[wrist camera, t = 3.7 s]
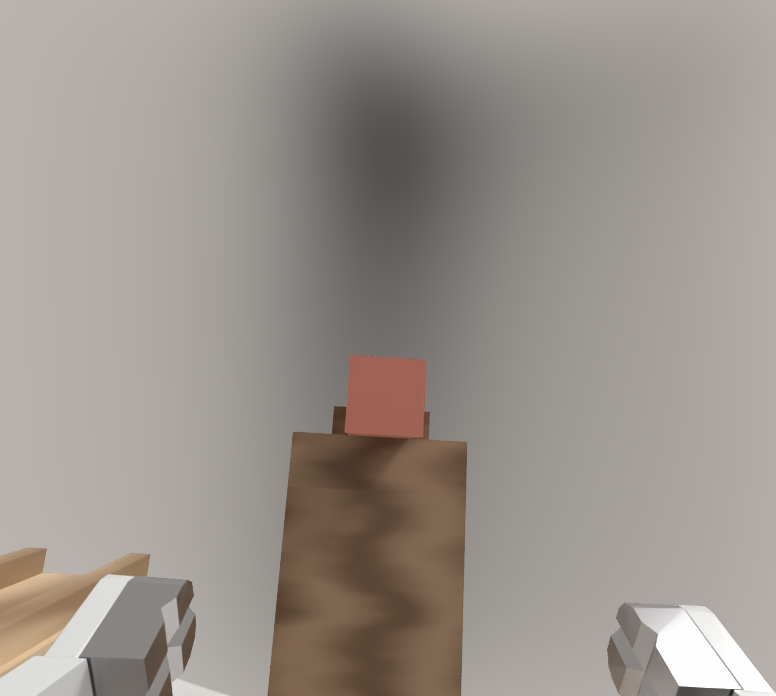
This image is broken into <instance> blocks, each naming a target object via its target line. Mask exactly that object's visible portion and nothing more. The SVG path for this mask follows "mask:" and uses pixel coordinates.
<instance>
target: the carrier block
mask: <svg viewBox="0 0 776 696" xmlns="http://www.w3.org/2000/svg"><path fill="white" fill-rule="evenodd" d="M46 550H47V549H44V548H25V549H21V550H18V551H15V552H12V553H8V554H5V555H2V556H0V678H1V677H3V676H4V675H6V674H7V673H9V672H10V671H12V670H14V669H15V668H17V667H18V666H20V665H21V664H23V663H24V662H26V661H27V660H29V659H31V658H32V657H34V656H44V655H45V654H46V652H47V651H48V649H49V648H50V647H51V645H52V644H53V643H54V641H55V640H56V639H57V637H58V636H59V634H60V633H61V632H62V630H63V629H64V628H65V626H66V625H67V624H68V622H69V621H70V620H71V618H72V617H73V615H74V614H75V613H76V611H77V610H78V609H79V607H80V606H81V605H82V603H83V602H84V601H85V599H86V598H87V596H88V595H89V594H90V592H91V591H92V590H93V588H94V587H95V586H96V584H97V583H98V582H99V581H100V580H101V579H102V578H104V577H105V576H106V575H108V574H112V575H124V576H143V577H147V572H148V565H149V559H150V554H138V553H137V554H136V553H130V554H128V555H126V556H124V557H122V558H120V559H117V560H115V561H113V562H111V563H109V564H107V565H104V566H102V567H100V568H98V569H96V570H94V571H91V572H89V573H87V574H85V575H69V574H49V573H42V571H43V566H44V561H45V555H46Z"/></svg>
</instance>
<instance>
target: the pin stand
mask: <svg viewBox="0 0 776 696" xmlns="http://www.w3.org/2000/svg"><path fill="white" fill-rule="evenodd" d="M429 416H430V412H424V427H423V437H420V438H411V439H407V438H390V437H373V436H356V435H348V434H347V433H345V420H346V407H336V406H334V415H333V428H332V434H322V433H306V432H293V438H292V448H291V458H290V469H289V479H288V489H287V500H286V510H285V520H284V531H283V541H282V552H281V562H280V572H279V583H278V593H277V604H276V614H275V624H274V635H273V645H272V656H271V666H270V677H269V687H268V696H461V673H462V632H463V590H464V549H465V546H464V545H465V509H466V467H467V442H457V441H440V440H429V439H428V438H429Z"/></svg>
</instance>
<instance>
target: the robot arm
mask: <svg viewBox="0 0 776 696" xmlns="http://www.w3.org/2000/svg"><path fill="white" fill-rule="evenodd" d="M193 596H194V594H193V586H192V582H191V581H189V580H180V579H167V578H156V577H143V576H124V575H112V574H108V575H106V576H105V577H104V578H102V579H101V580H100V581H99V582H98V583H97V584H96V586H95V587H94V588H93V590H92V591H91V592H90V594H89V595H88V596H87V598H86V599H85V601H84V602H83V603H82V605H81V606H80V607H79V609H78V610H77V611H76V613H75V614H74V615H73V617H72V618H71V620H70V621H69V622H68V624H67V625H66V626H65V628H64V629H63V630H62V632H61V633H60V634H59V636H58V637H57V639H56V640H55V641H54V643H53V644H52V645H51V647H50V648H49V649H48V651H47V652H46V654H45V655H44V656H34V657H32V658H31V659H29V660H27V661H26V662H24V663H23V664H21V665H20V666H18V667H17V668H15V669H14V670H12V671H10V672H9V673H7V674H6V675H4V676H3V677H1V678H0V696H173V695H172V685H171V683H172V682H173V681H174V680H175V679H176V678H177V677H179V676H180V675H181V674H182V673H183V672H184V670H185V667H186V665H187V662H188V660H189V657H190V654H191V650H192V646H193V642H194V638H195V628H196V619H195V614H194V612H193V611H192V610H191V609H190V608H189V605H190V603H191V600H192V598H193ZM616 619H617V621H618V622H619V624H620V626H621V628H620V629H619V630H617V631H616V632H615V633H613V634H612V635H611V637H610V641H609V645H608V649H607V650H608V664H609V669H610V672H611V676H612V679H613V682H614V684H615V686H616V688H617V691H618V693H619V694H620V695H621V696H776V692H773V690H772V689H771V688H770V687H769V685H768V684H767V683H766V681H765V680H764V679H763V677H762V676H761V675H760V673H759V672H758V671H757V670H756V668H755V667H754V666H753V664H752V663H751V662H750V660H749V659H748V658H747V657H746V655H745V654H744V653H743V651H742V650H741V649H740V647H739V646H738V645H737V644H736V642H735V641H734V640H733V638H732V637H731V636H730V635H729V634H728V632H727V631H726V629H725V628H724V627H723V626H722V624H721V623H720V622H719V620H718V619H717V618H716V616H715V615H714V614H713V613H712V612H711V611H710V610H709V609H707V608H706V607H704V606H684V605H683V606H682V605H677V606H675V605H663V604H640V603H624V604H623V605H622V606H621V607H620V608H619V610H618V614H617V617H616Z"/></svg>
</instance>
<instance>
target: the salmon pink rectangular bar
mask: <svg viewBox="0 0 776 696" xmlns="http://www.w3.org/2000/svg"><path fill="white" fill-rule="evenodd" d="M425 377H426V360H417V359H402V358H386V357H370V356H355V355H351V356H350V367H349V380H348V393H347V407H346V420H345V433H347V434H350V435H356V436H373V437H390V438H407V439H409V438H420V437H423V427H424V403H425V380H426V378H425Z"/></svg>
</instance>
